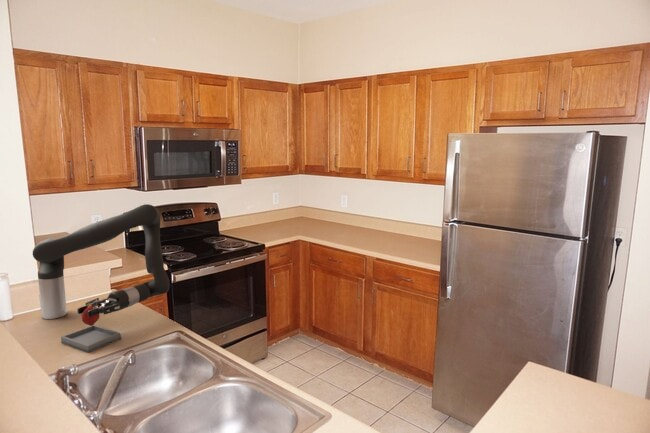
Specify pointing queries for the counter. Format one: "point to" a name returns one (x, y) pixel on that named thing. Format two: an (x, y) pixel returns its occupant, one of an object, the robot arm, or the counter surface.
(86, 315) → the onion
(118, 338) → the tray
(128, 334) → the counter surface
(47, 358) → the counter surface
